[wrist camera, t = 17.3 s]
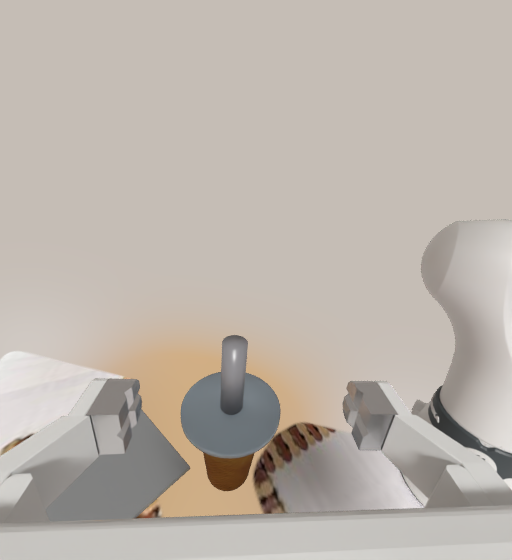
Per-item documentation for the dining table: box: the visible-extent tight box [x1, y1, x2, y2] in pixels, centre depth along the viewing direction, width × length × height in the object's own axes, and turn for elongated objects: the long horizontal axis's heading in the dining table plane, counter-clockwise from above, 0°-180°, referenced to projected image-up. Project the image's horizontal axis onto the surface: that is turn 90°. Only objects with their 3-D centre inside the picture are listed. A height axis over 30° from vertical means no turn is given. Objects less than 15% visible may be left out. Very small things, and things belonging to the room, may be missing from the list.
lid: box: [181, 335, 280, 459], centre depth 33 cm, size 13×13×11 cm
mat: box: [45, 410, 190, 522], centre depth 38 cm, size 16×16×1 cm
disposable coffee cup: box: [203, 452, 254, 491], centre depth 38 cm, size 10×10×12 cm
